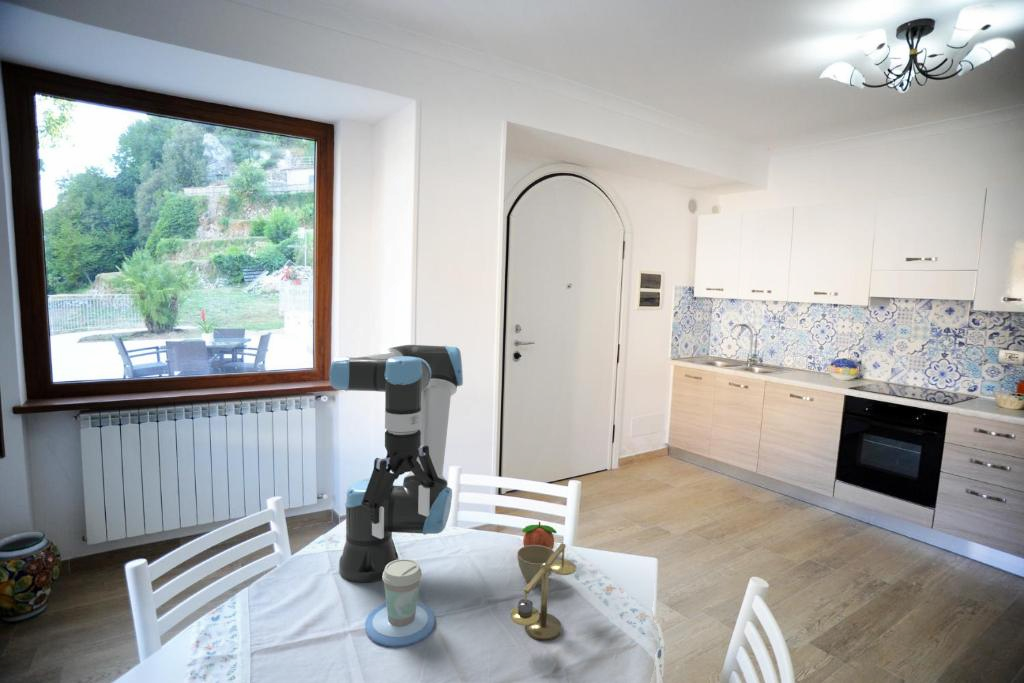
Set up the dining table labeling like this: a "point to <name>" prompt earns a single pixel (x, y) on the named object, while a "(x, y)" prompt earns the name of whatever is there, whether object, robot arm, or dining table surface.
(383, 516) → the robot arm
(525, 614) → the balance
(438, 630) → the dining table surface
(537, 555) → the flower pot
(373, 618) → the dish
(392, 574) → the coffee cup
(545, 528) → the fruit
